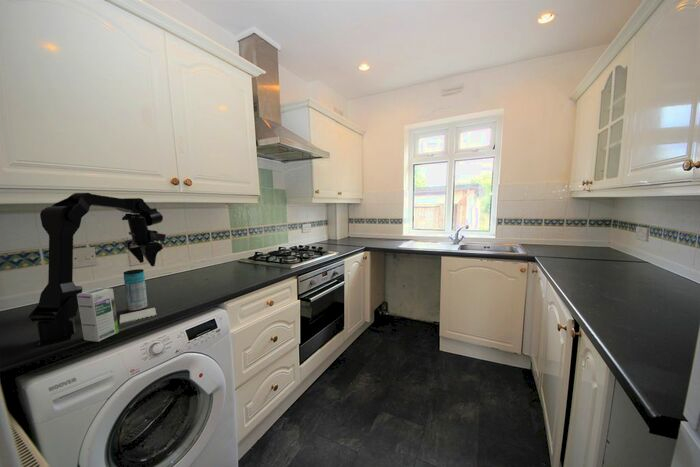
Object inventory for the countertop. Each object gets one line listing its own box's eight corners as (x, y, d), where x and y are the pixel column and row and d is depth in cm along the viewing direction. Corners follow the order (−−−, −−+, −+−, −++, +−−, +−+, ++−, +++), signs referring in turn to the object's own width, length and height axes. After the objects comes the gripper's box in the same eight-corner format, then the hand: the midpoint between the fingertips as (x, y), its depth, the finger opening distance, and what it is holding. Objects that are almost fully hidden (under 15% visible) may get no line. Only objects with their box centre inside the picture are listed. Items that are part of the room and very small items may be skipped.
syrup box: (98, 342, 75) (92, 294, 74) (82, 340, 77) (76, 293, 75) (119, 332, 81) (113, 287, 79) (104, 331, 82) (98, 286, 80)
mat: (119, 323, 87) (119, 322, 87) (120, 316, 93) (120, 315, 93) (156, 315, 93) (156, 314, 93) (154, 308, 99) (154, 307, 99)
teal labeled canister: (146, 305, 103) (142, 268, 101) (149, 309, 99) (144, 271, 97) (126, 309, 99) (122, 271, 97) (128, 314, 95) (124, 274, 93)
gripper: (172, 226, 108) (179, 261, 112) (149, 222, 117) (157, 255, 121) (141, 233, 99) (150, 270, 103) (119, 228, 108) (128, 263, 112)
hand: (147, 264), depth 110 cm, fingers open, 9 cm apart
